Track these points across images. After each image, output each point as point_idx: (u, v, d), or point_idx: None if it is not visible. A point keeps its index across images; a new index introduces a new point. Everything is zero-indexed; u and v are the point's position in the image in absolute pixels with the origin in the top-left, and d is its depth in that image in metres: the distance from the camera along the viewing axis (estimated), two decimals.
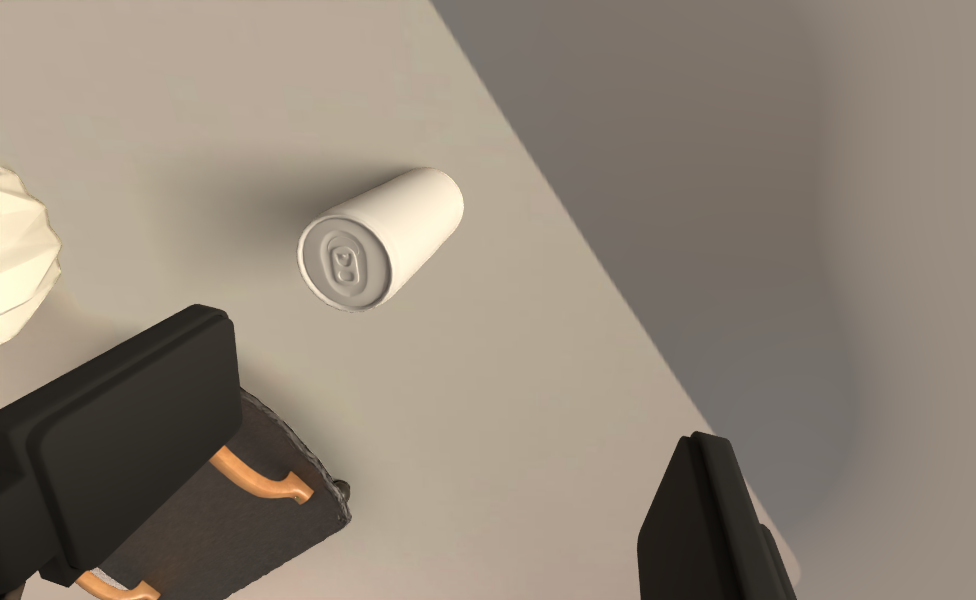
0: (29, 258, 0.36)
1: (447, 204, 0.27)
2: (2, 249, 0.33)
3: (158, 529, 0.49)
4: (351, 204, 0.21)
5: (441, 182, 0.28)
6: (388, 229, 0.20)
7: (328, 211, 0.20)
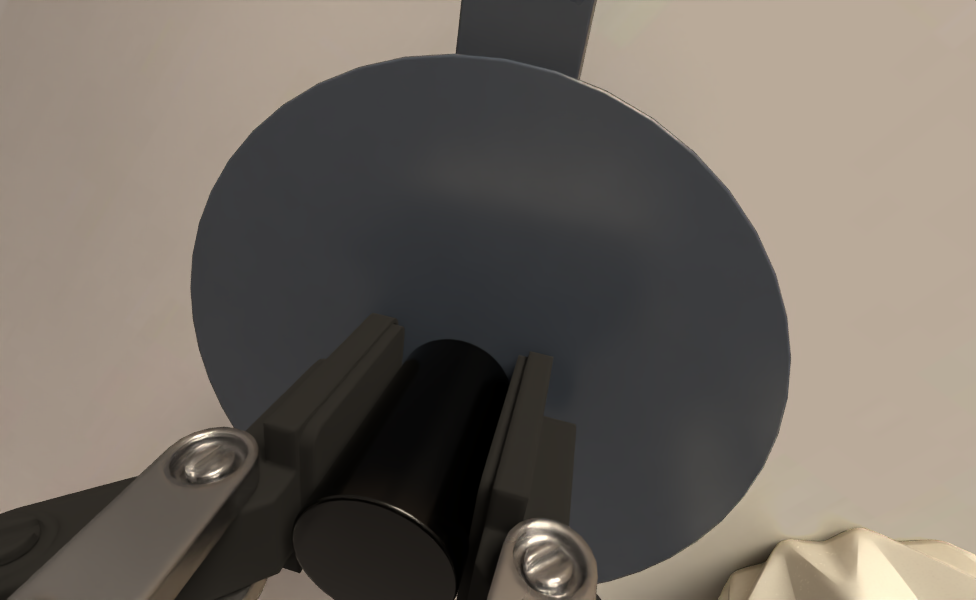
0: None
1: None
2: None
3: None
4: None
5: None
6: None
7: None
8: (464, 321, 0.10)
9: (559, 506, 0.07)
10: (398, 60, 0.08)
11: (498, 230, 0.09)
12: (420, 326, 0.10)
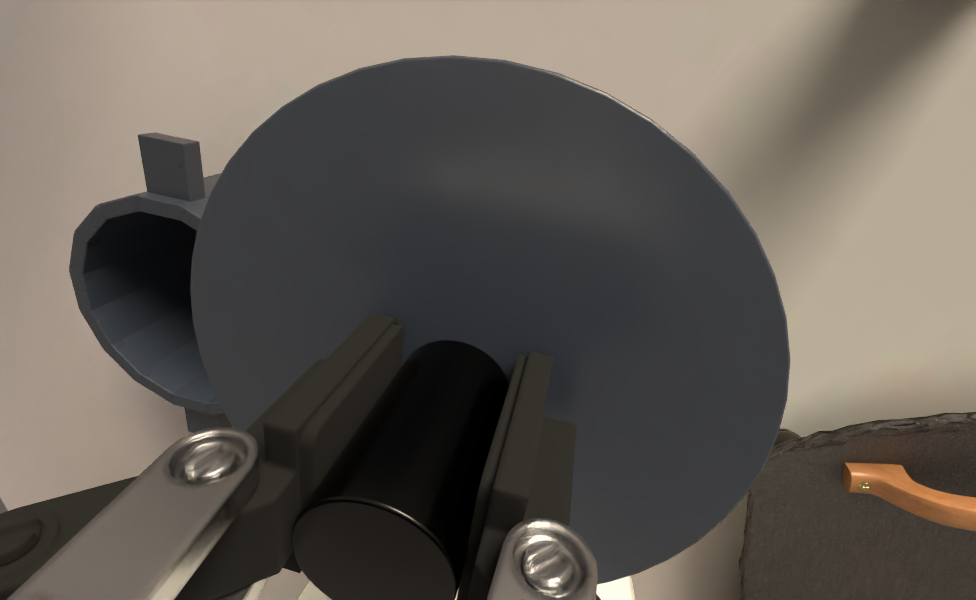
0: None
1: None
2: None
3: None
4: None
5: None
6: None
7: None
8: (463, 322, 0.10)
9: (559, 506, 0.07)
10: (398, 62, 0.08)
11: (497, 231, 0.09)
12: (420, 327, 0.10)
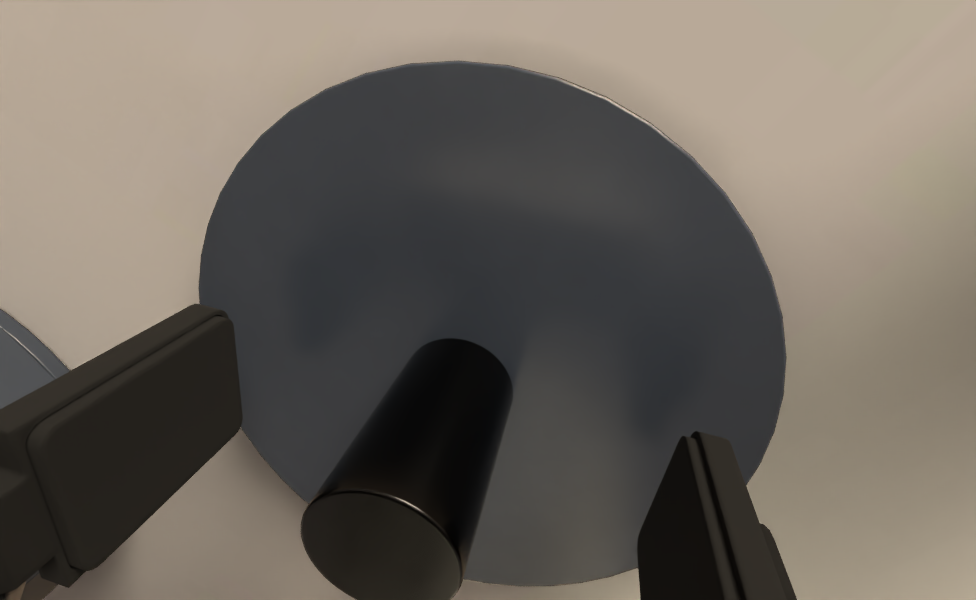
0: None
1: None
2: None
3: None
4: None
5: None
6: None
7: None
8: (466, 320, 0.10)
9: None
10: (404, 67, 0.09)
11: (501, 231, 0.09)
12: (424, 326, 0.11)
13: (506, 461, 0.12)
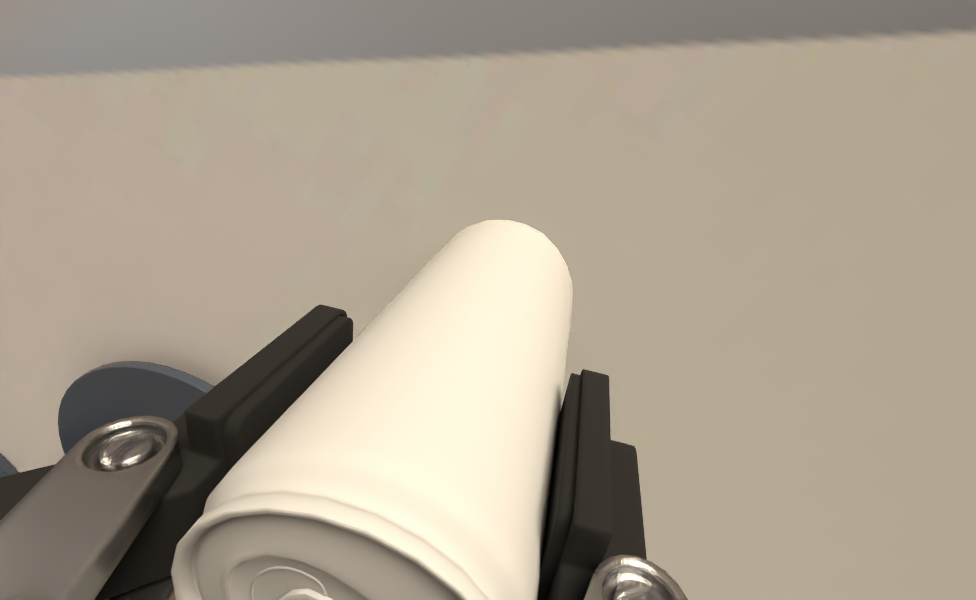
0: None
1: (502, 252, 0.12)
2: None
3: None
4: None
5: (470, 236, 0.14)
6: (324, 448, 0.06)
7: None
8: None
9: (633, 537, 0.07)
10: (122, 367, 0.21)
11: None
12: None
13: None
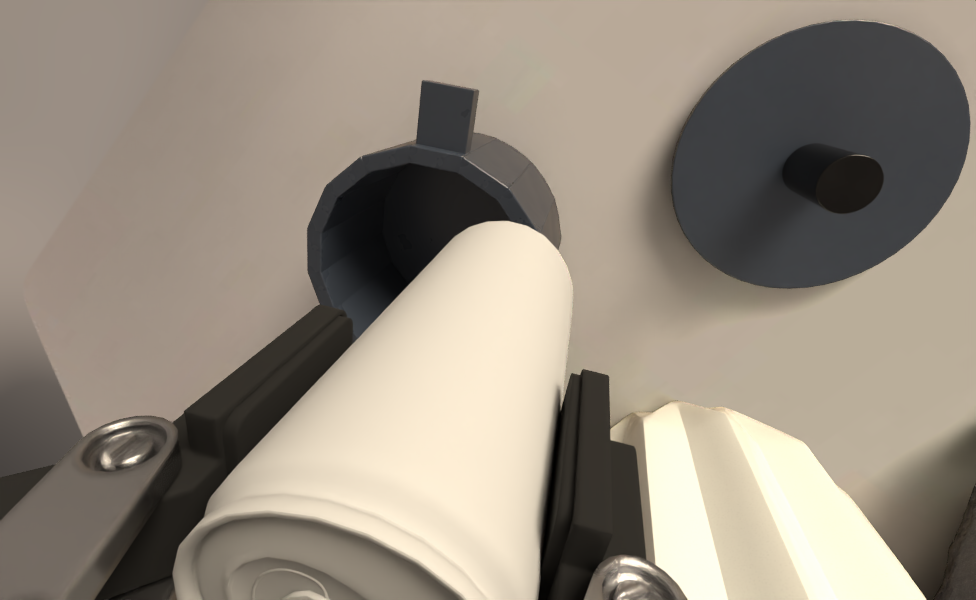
0: None
1: (503, 253, 0.12)
2: (811, 452, 0.26)
3: None
4: None
5: (470, 238, 0.14)
6: (325, 450, 0.06)
7: None
8: (824, 134, 0.24)
9: (633, 538, 0.07)
10: (831, 22, 0.22)
11: (854, 90, 0.23)
12: (802, 138, 0.25)
13: (822, 209, 0.26)
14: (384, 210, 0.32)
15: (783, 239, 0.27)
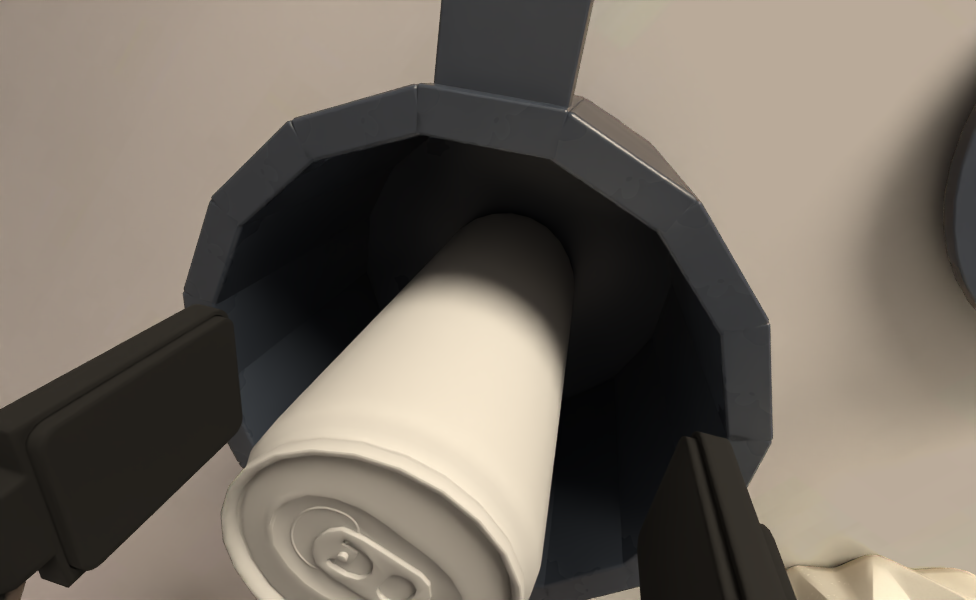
0: None
1: (508, 242, 0.13)
2: None
3: None
4: None
5: (477, 228, 0.14)
6: (358, 402, 0.06)
7: None
8: None
9: None
10: None
11: None
12: None
13: None
14: (370, 234, 0.18)
15: None
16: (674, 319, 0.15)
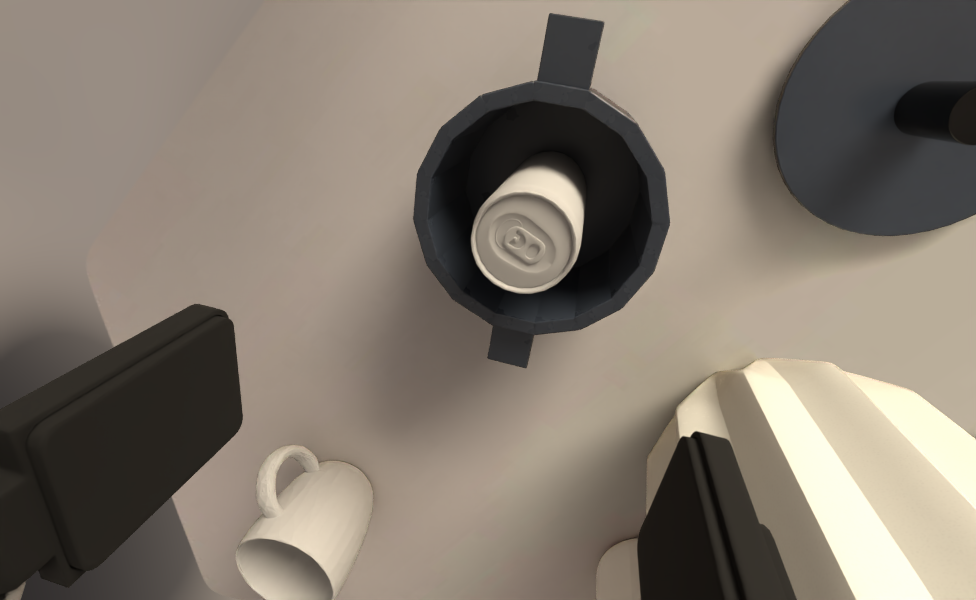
0: None
1: (555, 159, 0.27)
2: (922, 399, 0.26)
3: None
4: None
5: (537, 156, 0.28)
6: (522, 184, 0.20)
7: (474, 223, 0.21)
8: (941, 71, 0.24)
9: None
10: None
11: None
12: (917, 77, 0.24)
13: (933, 150, 0.25)
14: (469, 167, 0.31)
15: (890, 184, 0.26)
16: (639, 204, 0.28)
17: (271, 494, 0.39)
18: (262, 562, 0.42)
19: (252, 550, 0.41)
